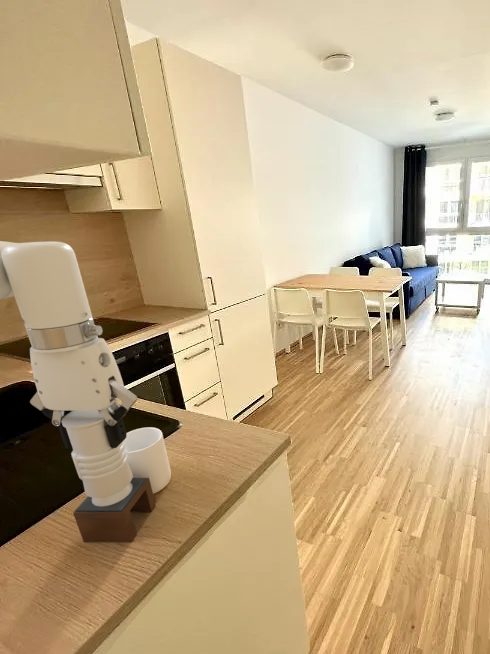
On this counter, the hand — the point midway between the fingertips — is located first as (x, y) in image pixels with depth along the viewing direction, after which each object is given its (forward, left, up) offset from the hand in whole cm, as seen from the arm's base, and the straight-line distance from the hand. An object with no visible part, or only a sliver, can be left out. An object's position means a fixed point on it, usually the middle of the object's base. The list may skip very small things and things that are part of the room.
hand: (97, 442), depth 56 cm
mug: (0, +12, -17) cm, 20 cm away
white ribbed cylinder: (0, 0, -10) cm, 10 cm away
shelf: (0, 0, -16) cm, 16 cm away
